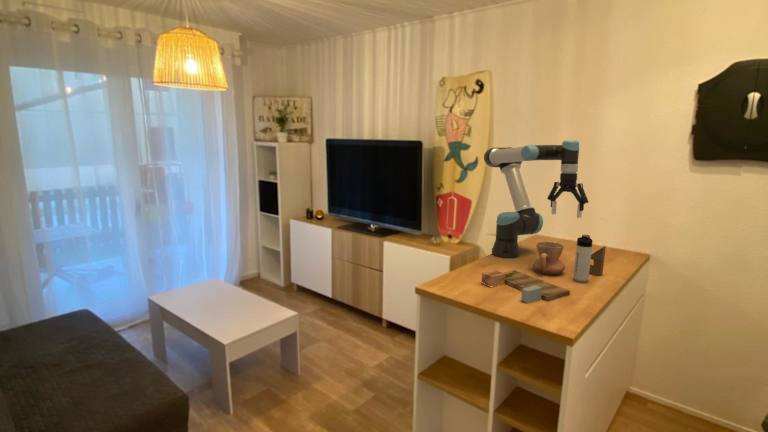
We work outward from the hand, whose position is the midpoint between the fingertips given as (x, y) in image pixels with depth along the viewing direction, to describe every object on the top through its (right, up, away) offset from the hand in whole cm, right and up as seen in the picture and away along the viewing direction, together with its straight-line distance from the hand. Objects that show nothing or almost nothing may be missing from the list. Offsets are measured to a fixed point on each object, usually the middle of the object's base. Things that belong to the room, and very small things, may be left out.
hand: (566, 215), depth 201 cm
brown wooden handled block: (-38, -30, -18) cm, 52 cm away
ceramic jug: (-11, -28, -4) cm, 30 cm away
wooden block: (+10, -28, -3) cm, 30 cm away
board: (-26, -31, -23) cm, 46 cm away
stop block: (-31, -34, -38) cm, 59 cm away
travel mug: (0, -30, -15) cm, 33 cm away
